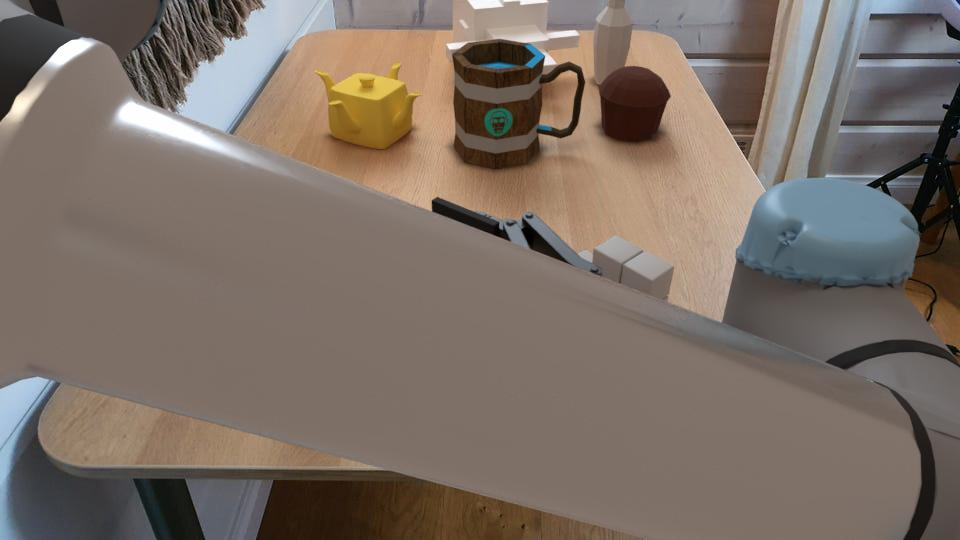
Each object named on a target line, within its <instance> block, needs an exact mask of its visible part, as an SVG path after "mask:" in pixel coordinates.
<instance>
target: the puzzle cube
mask: <svg viewBox="0 0 960 540" xmlns="http://www.w3.org/2000/svg"><path fill="white" fill-rule="evenodd" d="M592 251H593V252H591V251H588V250H587V249H583V250H582V251H580V252H579V253H577V254H578V255H579V256H580V257H581V258H583V259H585V260H587V261H589V262H591V263H593V264H595V265H597V266H599V267H600V268H602V270H603V271H602V277H604V278H606V279H609V280H612V281H614V282H617V283H620V284H622V285H625V286H627V287H630V288H633V289H635V290H638V291H640V292H643V293H646V294H648V295H651V296H653V297H656V298H659V299H661V300H664V301H666V302H669V296H668V295H669V294H670V291H671V287H672V281H673V276H674V271H675V265H673V264H671V263H669V262H667V261H666V260H664V259H662V258H661V257H658V256H656V255H655V254H652V253H651V252H650V251H649V252H648V251H647V250H644V249H643V248H641V247H640V246H637V245H636V244H634V243H632V242H631V241H628V240H626V239H624V238H623V237H620V236H618V235H613V236H612V237H610V238H609V239H607V240H605V241H604V242H602V243H600V244H599V245H597V246H595V247H594V248H593V250H592Z"/></svg>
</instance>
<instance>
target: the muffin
mask: <svg viewBox="0 0 960 540" xmlns="http://www.w3.org/2000/svg"><path fill="white" fill-rule="evenodd" d="M597 89H598V95H599V97H600V99H599V100H600V115H601V117H600V119H601V127H602V129H603V131H604V134H605V135H606V136H609V137H611V138H613V139H615V140H617V141H622V142H623V141H625V142H626V141H627V142H631V143H638V142H641V141H648V140H651V139H652V138H653V137H654V136H655V135H656V134H657V133H658V130H659V127H660V125H661V123H662V122H661V121H662V119H663V116H664V113H665V110H666V107H667V104H668V101H669V100H670V99H671V97H672V95H671V93H670V89H669V88H668V87H667V85H666V83H665V81H664V80H663V78H662V77H661V76H660V75H658V74H657V73H655V72H654V71H653V70H651V69H649V68H647V67H644V66H639V65H638V66H637V65H625V67H623V68H620V69H617V70H615V71H613V72H612V73H611V74H610V75H609V76H608V77H607V78H606V79H605V80H604V81H603V82H602V83H601V85H598V87H597Z"/></svg>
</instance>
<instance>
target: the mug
mask: <svg viewBox="0 0 960 540" xmlns="http://www.w3.org/2000/svg"><path fill="white" fill-rule="evenodd" d="M452 57H453V62H452V63H453V70H454V88H453V99H452V103H453V112H454V131H455V132H454V142H453V149H454V150H455V151H456V153H457V154H458V155H459V157H460V158H461V160H462V161H463V162H464V163H467V164H472V165H476V166H480V167H483V168H484V167H485V168H488V169H489V168H490V169H493V170H498V169H504V168H509V167H516V166H521V165H527V164H528V163H529V162H530V161H531V160H532V159H533V158H534V156H536V154H537V153H538V152H539V151H540V150H541V149H540V148H541V147H540V135H544V136H550V137H554V138H556V139H557V138H558V139H564V138H566V137H569V136H572V135H573V133H574V131H575V130H576V129H577V127H578V125H579V122H580V116H581V110H582V101H583V97H584V96H583V95H584V90H585V85H586V79H585V75H584V72H583V68H582V66H580V65H578V64H576V63H573V62H571V61H566V62H563V63H560V64H557V67H555V68H554V69H553V70H552V71H551V72H550V73H548V74H542V71H543V66H544V60H545V55H544V54H543V53H541V52H540V51H539V50H538V49H537V48H535V47H534V46H533V45H532V44H528V43H522V42H516V41H510V40H504V39H494V40H486V41H478V42H469V43H467V44H465V45H464V46H462V47H461V48H460V49H458V50H457V51H456V52H454V53H453V54H452ZM568 71H571V72H572V73H575V74H576V78H577V85H576V90H575V94H574V98H573V105H572V114H571V121H570V123H569V124H568V127H567V126H566V127H565V128H562V129H559V128H556V127H553V126H550V125H544V124H540V119H541V115H542V108H543V91H542V90H543V89H542V86H543V84H550V83H552V82H554V81H555V80H556V79H557V78H558V77H559V76H560V75H561V74H564V73H565V72H568Z"/></svg>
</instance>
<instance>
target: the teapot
mask: <svg viewBox="0 0 960 540" xmlns="http://www.w3.org/2000/svg"><path fill="white" fill-rule="evenodd" d="M401 66H402V62H399V61H397V62H396V63H394V64H393V65H392V66H391V67H390V69H389V71H388V75H387V77H385V76H382V75H376V74H372V73H365V72H355V73H354V74H352V75H350V76H348V77H346V78H344V79H343V80H341V81H340V82H338V83H336V84H335V81H334V79H333V78H332V76H330V74H329V73H328V72H326V71H323V70H319V69H317V70H315V71H314V72H315V74H316V75H318V76H319V77H320V79H321V80H322V82H323V84H324V87H325V91H326V97H327V101H328V102H327V103H328V107H327V111H328V112H327V116H328V125H329V126H328V127H329V130H330V133H331V135H332V137H333V138H336V139H338V140H341V141H343V142H347V143H349V144H352V145H356V146H360V147H366V148H370V149H376V150H385V149H388V148H389V147H390V146H392V145H393V144H395V143H396V142H397V141H399V140H400V139H402V138H403V137H404V136H405V135H406V134H408V133H409V132H410V131H411V129H412V125H413V111H414V110H413V109H414V103H415V100H416V99H417V98H418V97H420V96H423V93H422V92H413V91H412V92H409V93H408V88H407V86H406V83H405V82H403V81H401V80H399V79H398V77H399V70H400V69H401Z"/></svg>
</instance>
